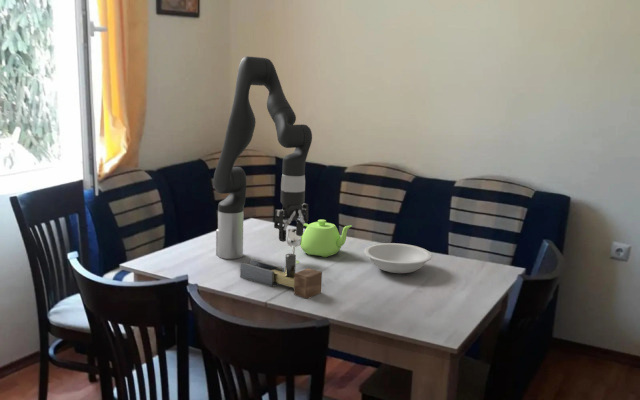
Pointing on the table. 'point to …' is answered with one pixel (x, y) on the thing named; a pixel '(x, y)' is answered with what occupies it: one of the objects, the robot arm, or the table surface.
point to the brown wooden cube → (307, 283)
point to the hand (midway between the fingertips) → (291, 238)
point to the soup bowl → (397, 257)
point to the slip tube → (286, 272)
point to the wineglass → (293, 240)
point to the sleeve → (259, 272)
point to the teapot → (322, 238)
